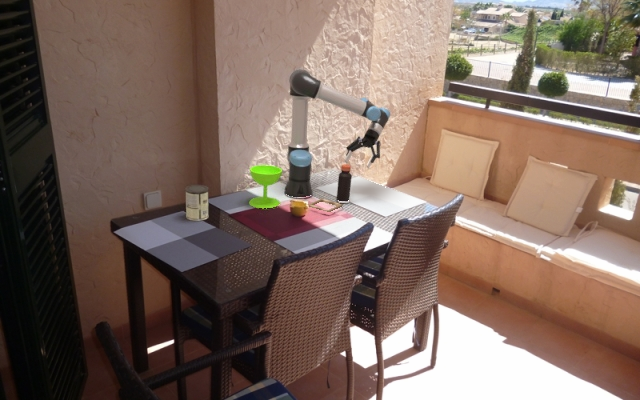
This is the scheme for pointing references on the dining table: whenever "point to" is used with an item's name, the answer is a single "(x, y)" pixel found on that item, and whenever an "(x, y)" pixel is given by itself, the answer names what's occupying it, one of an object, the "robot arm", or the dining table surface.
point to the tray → (325, 202)
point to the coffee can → (197, 202)
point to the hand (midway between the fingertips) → (356, 164)
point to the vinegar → (344, 183)
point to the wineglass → (265, 184)
